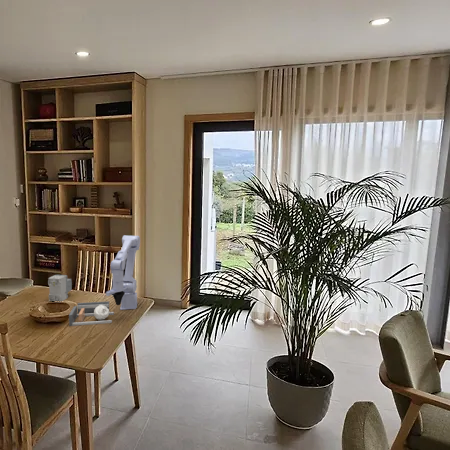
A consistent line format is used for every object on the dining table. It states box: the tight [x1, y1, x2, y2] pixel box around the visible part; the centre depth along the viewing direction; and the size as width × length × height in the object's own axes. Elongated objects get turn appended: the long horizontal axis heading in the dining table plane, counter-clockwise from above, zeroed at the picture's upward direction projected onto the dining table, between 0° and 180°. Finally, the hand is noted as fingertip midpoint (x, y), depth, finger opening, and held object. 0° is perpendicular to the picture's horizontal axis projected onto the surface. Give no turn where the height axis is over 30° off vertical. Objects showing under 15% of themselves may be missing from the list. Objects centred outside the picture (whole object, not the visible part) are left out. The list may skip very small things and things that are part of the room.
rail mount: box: [68, 301, 115, 327], centre depth 176 cm, size 21×16×6 cm
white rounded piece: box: [93, 305, 110, 321], centre depth 175 cm, size 8×8×8 cm
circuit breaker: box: [47, 274, 73, 302], centre depth 203 cm, size 8×14×15 cm, turn 174°
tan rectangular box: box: [78, 308, 86, 322], centre depth 173 cm, size 2×8×5 cm, turn 14°
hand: (118, 304), depth 177 cm, fingers closed
